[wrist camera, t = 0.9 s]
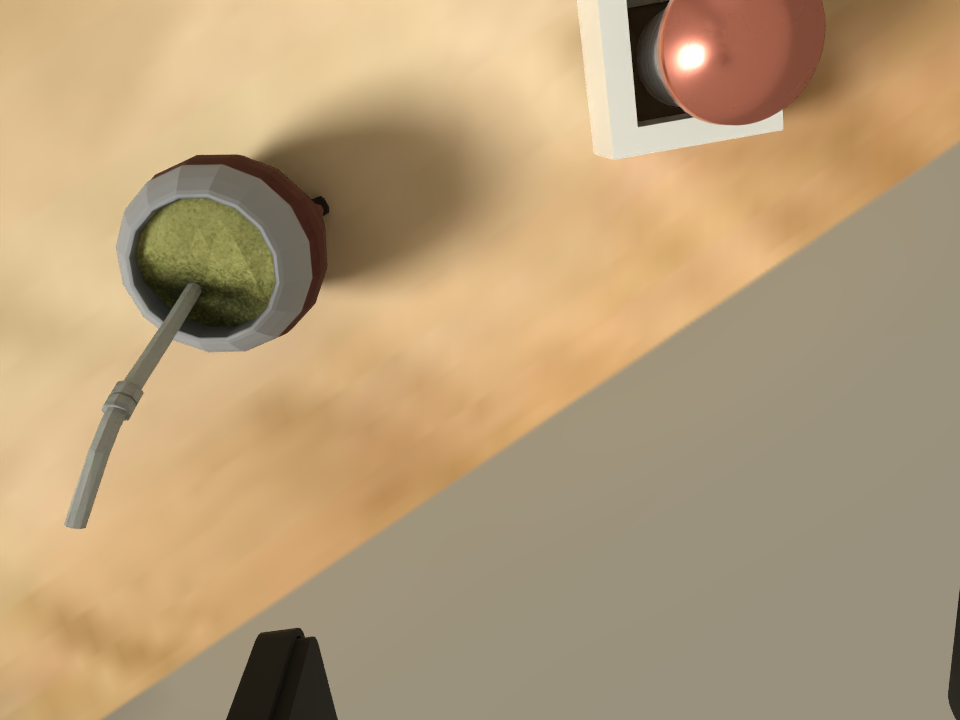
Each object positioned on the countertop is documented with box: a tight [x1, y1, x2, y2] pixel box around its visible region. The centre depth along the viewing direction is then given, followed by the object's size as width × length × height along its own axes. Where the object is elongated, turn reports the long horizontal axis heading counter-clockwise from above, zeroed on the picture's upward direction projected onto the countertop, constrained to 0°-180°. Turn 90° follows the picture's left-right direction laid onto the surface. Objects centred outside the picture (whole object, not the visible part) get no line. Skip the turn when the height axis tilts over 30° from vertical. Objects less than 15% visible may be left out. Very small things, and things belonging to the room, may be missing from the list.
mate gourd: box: [64, 155, 329, 529], centre depth 24 cm, size 8×8×15 cm
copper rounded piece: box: [636, 0, 825, 125], centre depth 24 cm, size 5×5×6 cm
